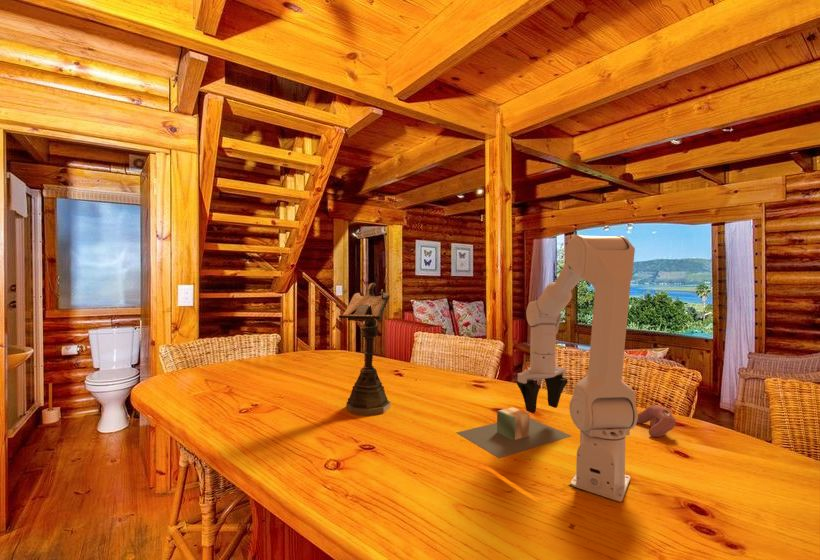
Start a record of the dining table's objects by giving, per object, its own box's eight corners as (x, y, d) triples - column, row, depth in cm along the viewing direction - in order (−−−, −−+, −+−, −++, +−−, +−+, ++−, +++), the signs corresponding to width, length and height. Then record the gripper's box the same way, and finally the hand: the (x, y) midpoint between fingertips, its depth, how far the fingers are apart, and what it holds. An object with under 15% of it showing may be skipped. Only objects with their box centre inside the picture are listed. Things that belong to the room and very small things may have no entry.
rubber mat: (499, 461, 75) (499, 458, 75) (456, 435, 87) (456, 432, 87) (571, 438, 86) (571, 435, 86) (524, 418, 98) (524, 415, 98)
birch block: (529, 435, 86) (512, 440, 83) (512, 428, 90) (496, 432, 88) (529, 413, 86) (513, 417, 83) (513, 407, 90) (497, 410, 88)
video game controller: (668, 446, 86) (684, 419, 86) (648, 435, 87) (664, 409, 86) (649, 429, 96) (663, 405, 95) (631, 419, 97) (645, 396, 96)
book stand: (378, 425, 92) (380, 281, 92) (330, 418, 96) (332, 280, 96) (400, 404, 108) (402, 280, 108) (358, 399, 112) (359, 280, 112)
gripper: (549, 347, 98) (549, 399, 98) (508, 352, 91) (507, 408, 91) (573, 352, 92) (572, 408, 92) (531, 357, 85) (530, 418, 85)
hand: (542, 409), depth 91 cm, fingers open, 7 cm apart
